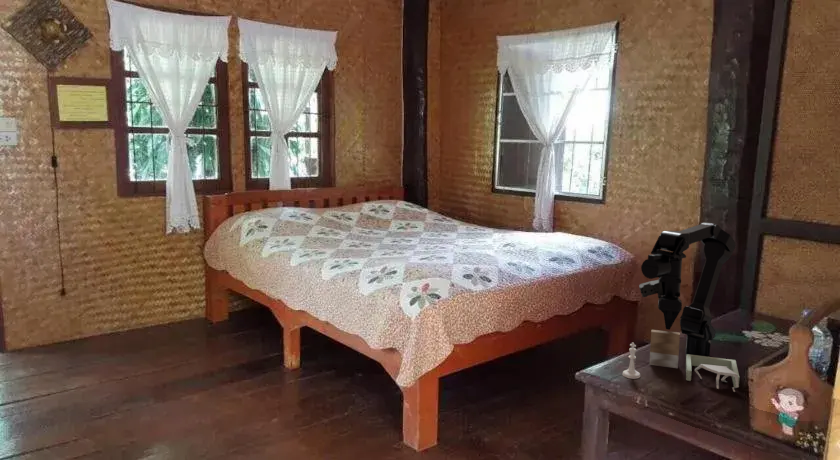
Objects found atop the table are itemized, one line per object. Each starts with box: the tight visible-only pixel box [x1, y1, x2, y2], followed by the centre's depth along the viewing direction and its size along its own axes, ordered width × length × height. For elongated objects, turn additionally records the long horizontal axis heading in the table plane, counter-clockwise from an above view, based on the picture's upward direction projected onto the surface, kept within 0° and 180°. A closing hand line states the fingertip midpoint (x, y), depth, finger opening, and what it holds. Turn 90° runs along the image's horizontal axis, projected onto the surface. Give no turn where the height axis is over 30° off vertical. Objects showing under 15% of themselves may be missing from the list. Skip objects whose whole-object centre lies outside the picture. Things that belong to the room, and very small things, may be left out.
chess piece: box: [622, 342, 641, 380], centre depth 181 cm, size 5×5×10 cm
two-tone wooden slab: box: [648, 329, 681, 369], centre depth 188 cm, size 8×2×10 cm, turn 68°
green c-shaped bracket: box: [685, 354, 740, 388], centre depth 181 cm, size 13×14×3 cm
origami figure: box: [694, 364, 739, 393], centre depth 175 cm, size 12×8×5 cm
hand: (667, 324), depth 187 cm, fingers open, 9 cm apart
